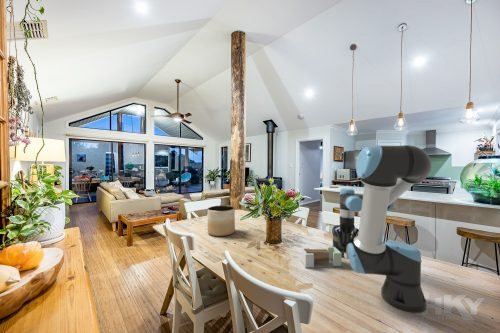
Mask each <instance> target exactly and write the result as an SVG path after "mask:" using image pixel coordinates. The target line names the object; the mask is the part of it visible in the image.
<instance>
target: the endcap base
mask: <svg viewBox="0 0 500 333" xmlns="http://www.w3.org/2000/svg"><path fill="white" fill-rule="evenodd" d="M305 249H310V248H309V247H301V248H300V261H301V263H302V265H303V266H304V268H305V269H323V268H324V269H328V268H329V269H331V268H332V269H333V268H337V269H338V268H343V266H342V265H341V266H333V260H329V265H314V254H313V253H306V251H305Z"/></svg>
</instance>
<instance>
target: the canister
mask: <svg viewBox="0 0 500 333" xmlns="http://www.w3.org/2000/svg"><path fill="white" fill-rule="evenodd" d="M339 225H340V224H338V225H337V224H336V225H333V226H332V247H335V248H336V249H338V250H339V251H340V252H341V253H342V257H344V252H343V246H341V245H340V244H339V240H338V236H337V232H336V230H335V228H338V227H339ZM340 233H341V237H342V241H343V234H342V231H341V229H340Z"/></svg>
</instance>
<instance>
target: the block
mask: <svg viewBox="0 0 500 333" xmlns="http://www.w3.org/2000/svg"><path fill="white" fill-rule="evenodd" d="M305 251H306V253H313V254H314V265H329V252H328V250H327V249H326V248H325V249H324V248H323V249H322V248H319V249H318V248H317V249H316V248H314V249H313V248H309V249H305Z"/></svg>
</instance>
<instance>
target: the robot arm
mask: <svg viewBox="0 0 500 333" xmlns="http://www.w3.org/2000/svg"><path fill="white" fill-rule="evenodd" d="M355 168H356V170H355V171H356V175H357V177H358V178H360V182H361V183H362V184H364V186H363V194H362V195H356V194H355V190H354V189H353V188H341V189H340V191H339V224H338V225H339V227H338V228H335V230H336V232H337V236H338V240H339V244H340V245H341V246H343V252H344V256H343V257H344V258H345V259H346V260H349V263H350V266H351V269H352V270H353V271H354V272H355V274H356V273H357V274H363V275H379V276H385V279H384V281H383V284H382V287H381V290H380V295H381V298H382V299H383V300H384V301H385V302H386V303H387V304H389V305H390V306H392V307H395V308H396V309H399V310H402V311H405V312H410V313H422V312H425V310H426V309H427V301H426V298H425V297H426V296H425V295H424V292H423V290H422V285H421V284H422V283H421V279H422V278H421V277H422V275H421V273H422V255H421V252H420V250H419V249H418V247H415V246H414V245H411V244H410V243H405V242H402V241H399V240H393V239H391V240H390V239H389V240H387V241H386V242H385V243H384V242H383V238H384V231H385V225H386V221H387V220H386V219H387V213H388V212H391V211H393V210H394V208H395V201H396V200H398V198H400V197H401V196H402V195H403V194H404V193H405V192H407V191H408V190H409V189H410V188H411V187H413V185H415V184H420V183H421V182H423V181H424V180H425V179H426V178H427V177H428V176H429V174H430V173H431V171H432V160H431V157H430V156H429V155H428V154H427V152H426V151H425V150H424V149H423V148H420V147H417V146H414V145H409V144H408V145H406V144H405V145H374V146H373V145H372V146H365V147H363V148H362V149H361V151H359V154H358V156H357V159H356V164H355ZM358 212H360V220H359V226H358V228H357V227H356V226H355V213H358ZM340 229H341V231H342V234H343V241H342V237H341V233H340Z"/></svg>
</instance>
